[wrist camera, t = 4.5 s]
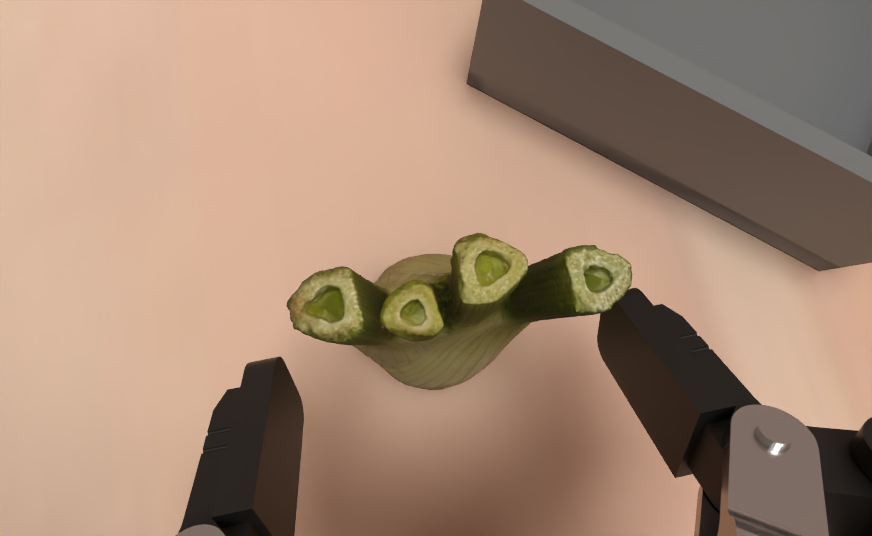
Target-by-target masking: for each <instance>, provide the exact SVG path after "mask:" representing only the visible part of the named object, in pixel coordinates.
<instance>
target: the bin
mask: <svg viewBox="0 0 872 536" xmlns="http://www.w3.org/2000/svg"><path fill="white" fill-rule="evenodd" d="M467 84H469V85H471V86H473V87H475V88H476V89H478V90H480V91H482V92H484V93H486V94H488V95H490V96H492V97H493V98H495V99H497V100H499V101H501V102H503V103H505V104H507V105H508V106H510V107H512V108H514V109H516V110H518V111H520V112H522V113H524V114H525V115H527V116H529V117H531V118H533V119H535V120H537V121H539V122H540V123H542V124H544V125H546V126H548V127H550V128H552V129H554V130H555V131H557V132H559V133H561V134H563V135H565V136H567V137H569V138H571V139H572V140H574V141H576V142H578V143H580V144H582V145H584V146H586V147H587V148H589V149H591V150H593V151H595V152H597V153H599V154H601V155H603V156H604V157H606V158H608V159H610V160H612V161H614V162H616V163H618V164H619V165H621V166H623V167H625V168H627V169H629V170H631V171H633V172H634V173H636V174H638V175H640V176H642V177H644V178H646V179H648V180H650V181H651V182H653V183H655V184H657V185H659V186H661V187H663V188H665V189H666V190H668V191H670V192H672V193H674V194H676V195H678V196H680V197H682V198H683V199H685V200H687V201H689V202H691V203H693V204H695V205H697V206H698V207H700V208H702V209H704V210H706V211H708V212H710V213H712V214H713V215H715V216H717V217H719V218H721V219H723V220H725V221H727V222H729V223H730V224H732V225H734V226H736V227H738V228H740V229H742V230H744V231H745V232H747V233H749V234H751V235H753V236H755V237H757V238H759V239H761V240H762V241H764V242H766V243H768V244H770V245H772V246H774V247H776V248H777V249H779V250H781V251H783V252H785V253H787V254H789V255H791V256H792V257H794V258H796V259H798V260H800V261H802V262H804V263H806V264H808V265H809V266H811V267H813V268H815V269H817V270H819V271H822V270H828V269H834V268H841V267H847V266H853V265H859V264H865V263H871V262H872V0H483V1H482V6H481V11H480V16H479V22H478V27H477V32H476V37H475V42H474V48H473V53H472V58H471V63H470V68H469V73H468V79H467Z"/></svg>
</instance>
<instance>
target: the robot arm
mask: <svg viewBox="0 0 872 536" xmlns="http://www.w3.org/2000/svg"><path fill="white" fill-rule="evenodd" d="M597 341H598V347H599V351H600V354H601V356H602V359H603V361H604V362H605V364H606V366H607V367H608V369H609V370H610V372H611V374H612V375H613V377H614V379H615V380H616V382H617V384H618V385H619V387H620V388H621V390H622V392H623V393H624V395H625V397H626V398H627V400H628V402H629V403H630V405H631V407H632V408H633V410H634V411H635V413H636V415H637V416H638V418H639V420H640V421H641V423H642V425H643V426H644V428H645V429H646V431H647V433H648V434H649V436H650V438H651V439H652V441H653V443H654V444H655V446H656V447H657V449H658V451H659V452H660V454H661V456H662V457H663V459H664V461H665V462H666V464H667V465H668V467H669V469H670V470H671V472H672V474H673V475H674V477H675V478H677V477H681V476H685V475H690V474H693V475H694V476H695V478H696V479H697V481H698V482H699V484H700V487H699V491H698V499H697V510H696V521H695V533H694V536H872V418H870V419H868V420H867V421H866V422H865V423H864V425H863V426H862V427H861V429H860V430H859V431H854V430H842V429H830V428H819V427H810V426H805V425H804V424H803V423H802V422H800V421H799V420H798V419H796V418H795V417H793V416H792V415H790V414H788V413H786V412H784V411H782V410H780V409H777V408H774V407H770V406H766V405H761V404H760V403H759V402H758V401H757V400H756V399H755V398H754V397H753V395H752V394H751V393H750V392H749V391H748V390H747V389H746V388H745V386H744V385H743V384H742V383H741V382H740V381H739V380H738V379H737V377H736V376H735V375H734V374H733V373H732V372H731V371H730V370H729V368H728V367H727V366H726V365H725V364H724V363H723V362H722V360H721V359H720V358H719V357H718V356H717V355H716V354H715V353H714V351H713V350H712V349H711V350H710V349H709V346H708V345H707V344H706V342H705V341H704V340H703V339H702V338H701V337H700V336H697V332H696V331H695V330H694V329H693V328H692V327H691V326H690V324H689V323H688V322H687V321H686V320H685V319H684V318H683V317H682V316H681V315H679V314H678V313H676V312H674V311H673V310H671V309H669V308H668V307H666V306H664V305H663V304H660V305H655V306H653V305H652V303H651V302H650V301H649V300H648V299H647V297H646V296H645V295H644V294H643V293H642V292H641V291H640V290H639V289H637V288H632V289H628V290H627V292H626V293H625V295H624V297H623V298H622V299H620V300H619V301H617V302H615V303H614V305H613V306H612V308H611V310H609V311H606V312H603V313H601V314H600V321H599V328H598V336H597ZM303 422H304V414H303V405H302V401H301V397H300V395H299V392H298V390H297V388H296V386H295V384H294V382H293V379H292V377H291V375H290V373H289V371H288V369H287V366H286V364H285V362H284V360H283V359H282V358H281V357H276V358H271V359H265V360H260V361H255V362H250V363H248V364H247V365H246V367H245V370H244V374H243V378H242V383H241V387H239V388H234V389H229V390H227V391H226V393H225V394H224V396H223V397H222V399H221V400H220V401H219V403H218V404H217V406H216V407H215V409H214V410H213V414H212V417H211V421H210V425H209V428H208V436H206V439H205V443H204V447H203V454H201V458H200V461H199V465H198V468H197V472H196V476H195V479H194V483H193V487H192V490H191V494H190V498H189V501H188V505H187V509H186V512H185V516H184V520H183V523H182V526H181V528H180V531H179V533H178V534H177V535H176V536H294V533H295V520H296V508H297V496H298V484H299V471H300V459H301V447H302V435H303Z"/></svg>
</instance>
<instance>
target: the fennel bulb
mask: <svg viewBox="0 0 872 536" xmlns="http://www.w3.org/2000/svg"><path fill="white" fill-rule="evenodd" d="M452 253H453V256H451V255H443V254H424V255H420V256H414V257H409V258H406V259H403V260H401V261H399V262H397V263H396V264H394V265H392V266H390V267H389V268H387V269H386V270H385V271H384V272H383V273H382V275H381V276H380V277H379V279H378V280H377V281H376V282H375V283H372V282H370V281H368V280H366V279H365V278H363V277H361V275H358V274H357V273H356V272H354V271H353V270H351V269H350V268H348V267H336V268H334V269H329V270H325V271H319V272H317V273H314V274H313V275H312V276H310V277H308V278H307V279H306V280H304V281H303V282H302V284H301V285H300V287H299V289H298V290H297V291H296V292H295V293H294V294H293V295H292V296H291V297H290V299H289V300H288V302H287V307H288V309H289V310H290V319H291V321H292V322H293V328H294V329H297V330H299V331H301V332H302V333H303V334H305V335H309V336H311V337H313V338H315V339H319V340H322V341H325V342H330V343H336V344H344V345H353V346H354V347H356V348H357V349H359V350H360V351H361V352H362V353H364V354H365V355H366V356H368V357H370V358H371V359H373V360H374V361H375V362H376V363H378V364H379V365H380V366H381V367H382V368H384V369H385V370H386V371H387V372H388V373H389V374H390V375H391V376H392V377H394V378H395V379H397V380H398V381H400V382H402V383H404V384H406V385H409V386H413V387H417V388H422V389H428V390H439V389H444V388H448V387H451V386H453V385H457V384H460V383H463V382H465V381H467V380H469V379H470V378H472V377H473V376H474V375H476V374H477V373H479V372H480V371H481V370H482V369H484V368H485V367H486V366H487V365H489V364H490V363H491V362H492V361H493V360H494V359H495V358H496V356H497V355H498V354H499V353H500V352H501V351H502V350H503V349H504V347H505V346H506V345H507V344H509V342H510V341H511V340H512V339H513V338H514V337H515V336H517V335H518V334H519V333H520V332H521V331H522V330H523V329H524V328H525V327H526V326H528V325H529V324H530V322H534V321H539V320H548V319H555V318H565V317H575V316H585V315H594V314H598V313H603V312H606V311H609V310H611V308H612V306H613V305H614V303H615V302H617V301H619V300H620V299H622V298H623V297H624V295H625V293H626V292H627V290H628V288H629V287H630V286H631V280H632V272H631V264H630V263H629V262H628V261H627V260H625V259H624V258H623V257H621V256H619V255H618V254H610V253H607V252H606V251H603V250H600V249H598V248H597V247H596V246H595V245H581V246H576V247H572V248H568V249H565V250H563V252H561V253H558V254H556V255H553V256H551V257H549V258H547V259H544V260H542V261H540V262H537V263H534V264H531V265H530V266H528V260H527V258H526V256H525V255H524V254H523V253H522V252H521V251H519V250H517V249H516V248H514V247H512V246H510V245H508V244H507V243H505V242H502V241H500V240H498V239H494V238H491V237H489V236H487V235H485V234H482V233H476V234H473V235H469V236H466V237H463V238H461V239H459V240H458V241H457V242H456V243H455V245H454V249H453V251H452Z"/></svg>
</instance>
